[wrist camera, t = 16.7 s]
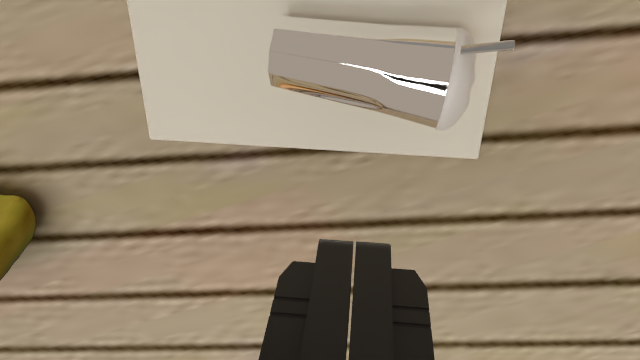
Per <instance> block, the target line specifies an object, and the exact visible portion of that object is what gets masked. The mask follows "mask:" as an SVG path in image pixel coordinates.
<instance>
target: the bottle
mask: <svg viewBox="0 0 640 360" xmlns="http://www.w3.org/2000/svg"><path fill="white" fill-rule="evenodd" d="M35 228H36V220H35V215H34V212H33V210H32V209H31V207H30V205H29V204H28V202H27V201H26V200H25V199H23V198H21V197H18V196H14V195H9V196H5V195H0V280H1V279H2V278H3V277H4V276H5V274H6V273H7V272H8V270H9V269H10V268H11V266H12V265H13V264H14V262H15V261H16V260H17V259H18V258H19V256H20V255H21V253H22V252H23V251H24V249H25V248H26V247H27V245H28V244H29V242H30V241H31V239H32V237H33V235H34V232H35Z"/></svg>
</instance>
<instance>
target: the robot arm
mask: <svg viewBox="0 0 640 360" xmlns="http://www.w3.org/2000/svg"><path fill="white" fill-rule="evenodd" d="M352 257H353V241H340V240H326V239H320V240H319V244H318V250H317V256H316V262H315V263H310V262H296V261H293V262H292V263H291V264H290V265H289V266H288V267H287V269H286V270H285V271H284V272H283V273H282V274H281V275H280V276H279V279H278V283H277V287H276V291H275V295H274V300H273V303H272V307H271V312H270V316H269V320H268V324H267V328H266V332H265V336H264V340H263V344H262V348H261V352H260V356H259V360H346V351H347V337H348V323H349V308H350V291H351V274H352ZM349 360H434V350H433V341H432V332H431V323H430V313H429V304H428V295H427V288H426V286H425V285H424V283H423V282H422V280H421V279H420V277H419V276H418V274H417V273H416V271H415V270H406V269H392V268H391V245H390V244H384V243H370V242H356V255H355V271H354V286H353V302H352V317H351V332H350V348H349Z"/></svg>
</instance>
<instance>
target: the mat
mask: <svg viewBox="0 0 640 360" xmlns="http://www.w3.org/2000/svg"><path fill="white" fill-rule="evenodd" d="M506 4H507V0H127V5H128V11H129V17H130V23H131V29H132V35H133V40H134V46H135V52H136V58H137V64H138V70H139V76H140V82H141V88H142V94H143V100H144V106H145V112H146V118H147V124H148V130H149V136H150V139H154V140H171V141H187V142H204V143H220V144H237V145H253V146H270V147H287V148H303V149H320V150H336V151H353V152H369V153H386V154H402V155H419V156H436V157H452V158H469V159H478V155H479V150H480V144H481V139H482V134H483V128H484V123H485V117H486V112H487V107H488V101H489V96H490V90H491V85H492V80H493V74H494V69H495V63H496V58H497V53H498V51H495V52H484V53H476V59H475V63H474V68H475V81H474V83H473V85H472V87H471V90H470V99H469V104H468V107H467V109H466V110H465V112H464V113H463V114H462V115H461V117H460V118H459V120H458V121H457V122H456V124H454V125H453V126H452V127H450V128H448V129H446V130H443V131H441V130H437V129H435V128H430V127H427V126H423V125H420V124H416V123H412V122H409V121H405V120H402V119H398V118H395V117H391V116H388V115H384V114H381V113H377V112H374V111H370V110H367V109H363V108H359V107H355V106H351V105H347V104H343V103H339V102H335V101H331V100H327V99H323V98H318V97H314V96H310V95H306V94H302V93H298V92H294V91H290V90H286V89H282V88H278V87H274V86H271V85H270V81H269V76H268V59H269V48H270V43H271V39H272V34H273V29H274V27H275V25H276V23H277V21H278V19H279V17H280V16H287V17H299V18H311V19H323V20H335V21H347V22H359V23H372V24H386V25H415V26H435V27H453V28H462V29H464V30H466V31H467V32H468V33H469V34H470V35H471V37H472V39H473V40H474V43H475V44H478V43H488V42H498V41H500V36H501V31H502V26H503V20H504V15H505V10H506Z"/></svg>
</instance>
